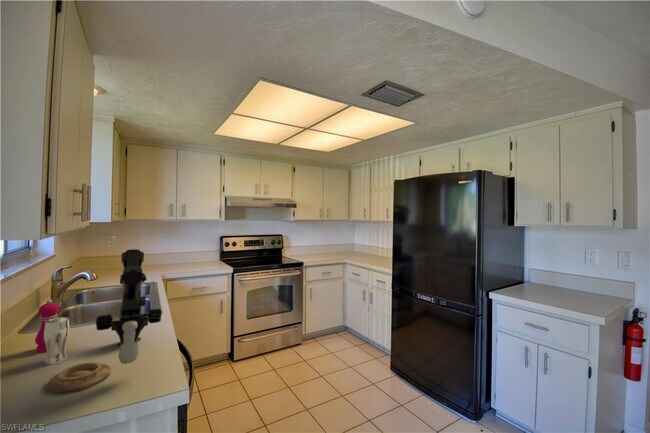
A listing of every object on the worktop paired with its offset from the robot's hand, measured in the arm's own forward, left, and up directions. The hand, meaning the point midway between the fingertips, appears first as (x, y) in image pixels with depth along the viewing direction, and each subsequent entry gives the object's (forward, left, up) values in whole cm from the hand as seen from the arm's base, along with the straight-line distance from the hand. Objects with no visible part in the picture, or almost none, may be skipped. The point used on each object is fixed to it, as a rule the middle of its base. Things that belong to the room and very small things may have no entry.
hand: (129, 342), depth 97 cm
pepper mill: (-26, -42, -13) cm, 52 cm away
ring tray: (-2, -16, -13) cm, 20 cm away
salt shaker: (-1, -1, -7) cm, 7 cm away
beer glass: (-16, -33, -13) cm, 39 cm away
